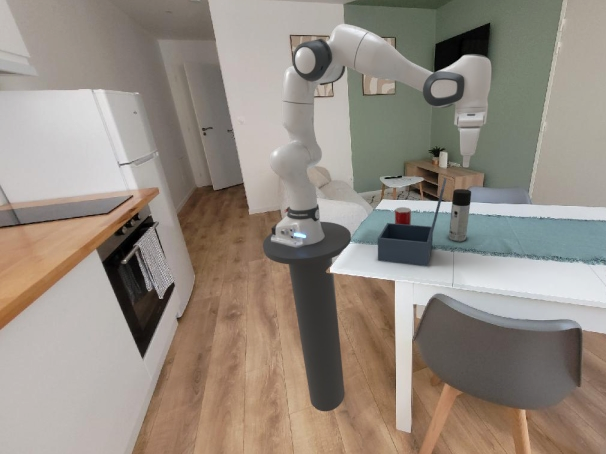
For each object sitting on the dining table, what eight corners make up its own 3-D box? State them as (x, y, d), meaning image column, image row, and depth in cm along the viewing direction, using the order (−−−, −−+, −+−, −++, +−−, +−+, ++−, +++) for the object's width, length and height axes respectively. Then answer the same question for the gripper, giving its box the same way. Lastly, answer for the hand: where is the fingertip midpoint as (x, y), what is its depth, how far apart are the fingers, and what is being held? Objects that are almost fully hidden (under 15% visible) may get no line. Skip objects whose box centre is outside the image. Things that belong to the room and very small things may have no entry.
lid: (441, 188, 88) (444, 189, 87) (444, 177, 100) (446, 178, 100) (427, 241, 96) (430, 242, 95) (432, 225, 108) (434, 225, 108)
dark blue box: (378, 260, 104) (377, 238, 101) (387, 243, 117) (387, 222, 114) (427, 266, 99) (429, 243, 96) (431, 247, 112) (433, 226, 108)
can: (393, 239, 120) (393, 211, 115) (396, 233, 125) (396, 206, 120) (408, 241, 118) (409, 212, 113) (411, 235, 123) (412, 207, 118)
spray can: (450, 234, 122) (454, 188, 115) (467, 236, 120) (472, 189, 112) (447, 240, 117) (451, 192, 109) (465, 243, 114) (470, 194, 106)
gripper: (459, 116, 94) (455, 159, 100) (458, 120, 77) (453, 172, 82) (480, 116, 92) (475, 159, 98) (483, 119, 75) (477, 173, 80)
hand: (465, 165), depth 90 cm, fingers closed
